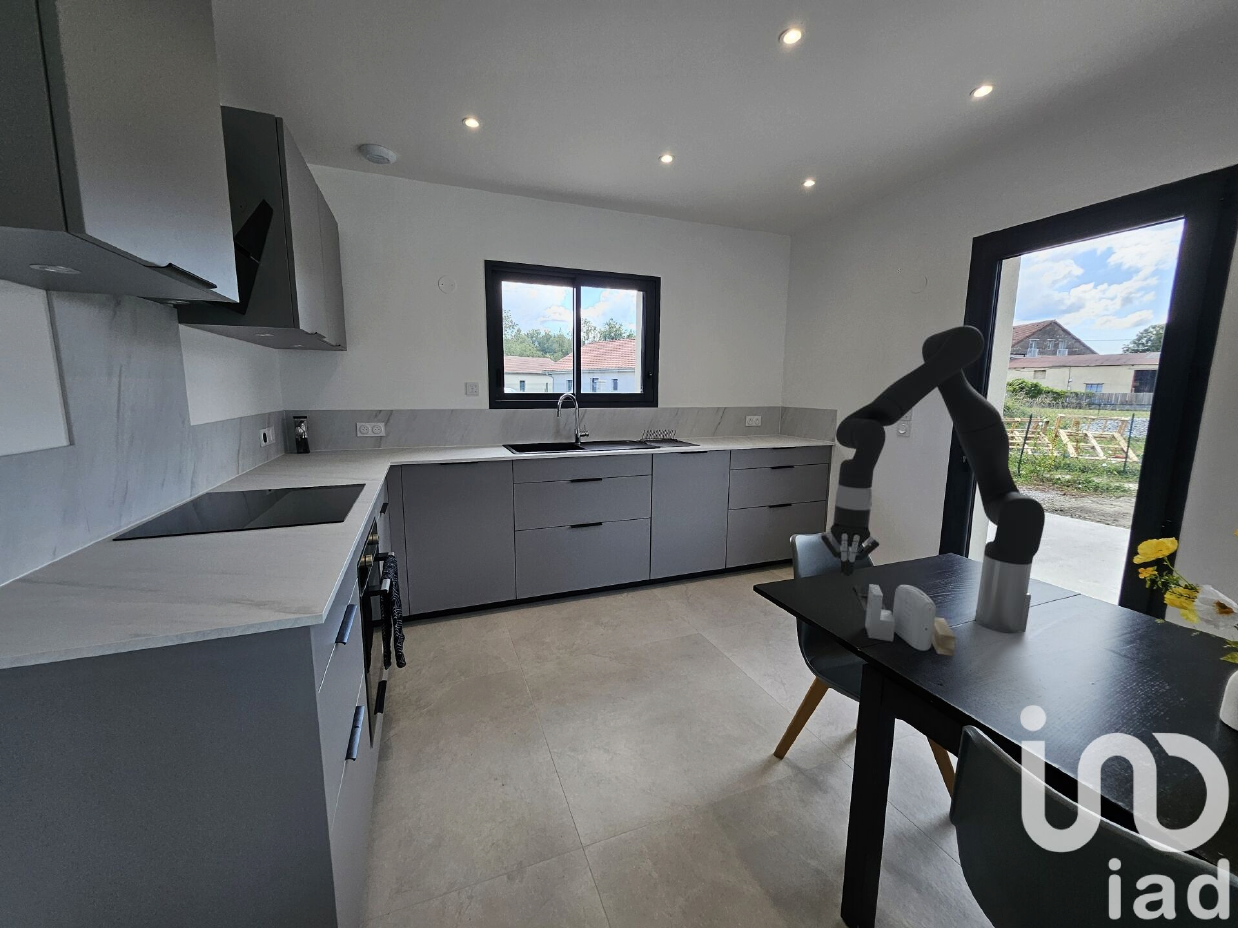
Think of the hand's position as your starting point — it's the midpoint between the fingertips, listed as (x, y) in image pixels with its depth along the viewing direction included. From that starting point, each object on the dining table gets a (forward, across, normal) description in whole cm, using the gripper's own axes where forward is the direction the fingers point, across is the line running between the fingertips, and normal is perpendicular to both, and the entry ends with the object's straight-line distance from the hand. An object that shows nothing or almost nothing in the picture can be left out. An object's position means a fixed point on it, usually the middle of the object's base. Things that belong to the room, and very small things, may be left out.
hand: (845, 574), depth 115 cm
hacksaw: (+14, -12, -17) cm, 25 cm away
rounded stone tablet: (+14, -15, 0) cm, 20 cm away
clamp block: (+13, -21, 0) cm, 25 cm away
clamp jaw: (+13, -8, 0) cm, 16 cm away
